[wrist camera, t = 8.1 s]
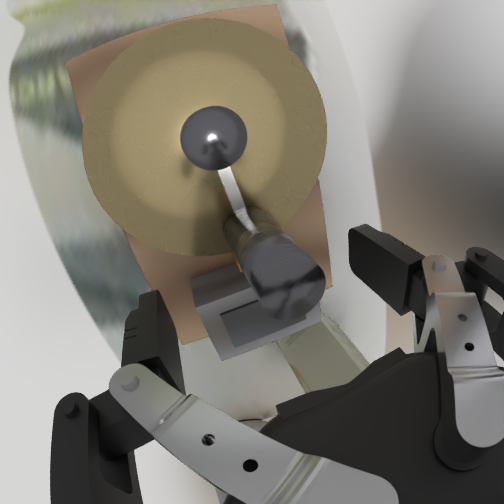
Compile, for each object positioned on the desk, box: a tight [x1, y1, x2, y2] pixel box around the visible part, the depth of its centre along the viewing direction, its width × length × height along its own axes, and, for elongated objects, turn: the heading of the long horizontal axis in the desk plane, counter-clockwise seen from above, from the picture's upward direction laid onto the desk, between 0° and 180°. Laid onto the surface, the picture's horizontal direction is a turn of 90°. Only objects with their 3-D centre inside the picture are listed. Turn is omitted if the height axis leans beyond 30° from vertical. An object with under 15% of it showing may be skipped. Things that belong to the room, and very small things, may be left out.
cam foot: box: [82, 18, 327, 320], centre depth 11 cm, size 12×12×8 cm
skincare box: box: [276, 313, 370, 393], centre depth 20 cm, size 6×4×12 cm
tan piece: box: [66, 4, 332, 361], centre depth 15 cm, size 20×12×5 cm, turn 14°
